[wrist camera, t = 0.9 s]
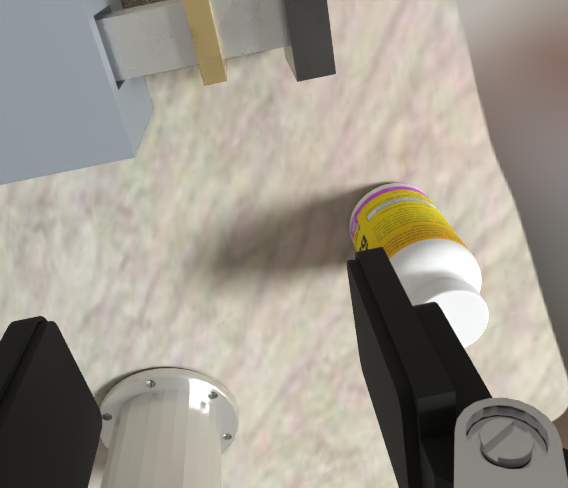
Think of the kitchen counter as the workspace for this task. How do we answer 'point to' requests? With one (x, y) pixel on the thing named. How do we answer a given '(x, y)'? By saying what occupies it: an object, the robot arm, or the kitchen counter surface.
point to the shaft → (216, 36)
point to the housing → (63, 91)
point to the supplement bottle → (423, 254)
